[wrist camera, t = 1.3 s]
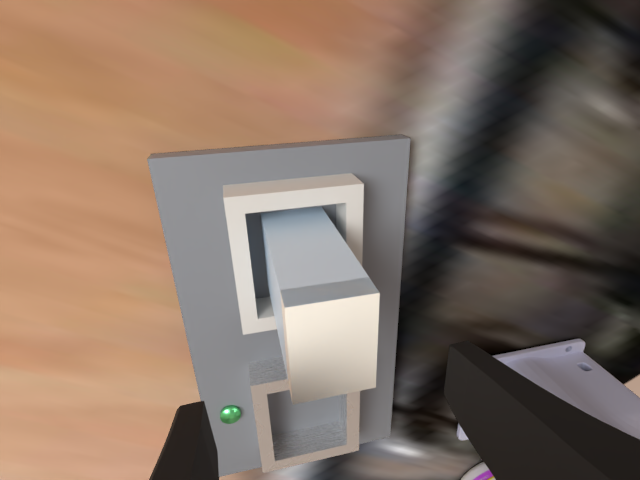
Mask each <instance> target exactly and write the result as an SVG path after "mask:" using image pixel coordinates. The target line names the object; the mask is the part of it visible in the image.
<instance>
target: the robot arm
mask: <svg viewBox="0 0 640 480" xmlns="http://www.w3.org/2000/svg"><path fill="white" fill-rule="evenodd" d="M584 348H585V342H584V341H583V340H582V339H573V340H568V341H564V342H559V343H554V344H549V345H544V346H539V347H534V348H529V349H524V350H519V351H514V352H509V353H504V354H499V355H494V356H491V355H490V354H488V353H487V352H485V351H484V350H482V349H480V348H479V347H477V346H476V345H474V344H472V343H471V342H469V341H464V342H460V343H456V344H451V345H450V346H449V354H448V363H447V371H446V380H445V388H444V395H445V397H446V399H447V401H448V403H449V405H450V407H451V409H452V411H453V413H454V415H455V417H456V419H457V421H458V423H459V424H458V429H457V437H458V438H459V439H460V440H467V439H469V440H470V442H471V443H472V445H473V446H474V448H475V449H476V451H477V452H478V454H479V455H480V457H481V458H482V460H483V461H484V463H485V464H486V466H487V467H488V469H489V470H490V472H491V473H492V475H493V476H494V478H495V479H496V480H640V398H639V397H638V396H637V395H636V394H634V393H633V392H632V391H631V390H629V389H628V388H627V387H626V386H625V385H623V384H622V383H621V382H620V381H618V380H617V379H616V378H615V377H613V376H612V375H611V374H610V373H608V372H607V371H606V370H605V369H604V368H602V367H601V366H600V365H599V364H597V363H596V362H595V361H594V360H592V359H591V358H590V357H589V356H588V355H586V354H585V353H584V352H583V351H584ZM149 480H219V469H218V451H217V447H216V444H215V440H214V436H213V432H212V429H211V425H210V421H209V417H208V414H207V410H206V406H205V402H204V401H200V402H196V403H191V404H187V405H182V406H180V407H179V408H178V409H177V411H176V414H175V417H174V420H173V423H172V426H171V429H170V431H169V434H168V437H167V439H166V442H165V444H164V447H163V449H162V451H161V454H160V456H159V459H158V461H157V463H156V466H155V468H154V470H153V472H152V475H151V477H150V479H149Z"/></svg>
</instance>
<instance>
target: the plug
mask: <svg viewBox="0 0 640 480" xmlns="http://www.w3.org/2000/svg"><path fill="white" fill-rule="evenodd" d="M261 223H262V233H263V242H264V252H265V262H266V272H267V281H268V288H269V293H270V297H271V302H272V307H273V312H274V317H275V322H276V326H277V331H278V336H279V341H280V346H281V350H282V355H283V360H284V365H285V370H286V375H287V379H288V384H289V389H290V394H291V399H292V404H293V405H294V404H298V403H303V402H308V401H313V400H318V399H323V398H328V397H332V396H337V395H342V394H347V393H352V392H357V391H362V390H366V389H371V388H376V371H377V347H378V323H379V299H380V292H379V291H378V289H377V288H376V287H375V285H374V284H373V282H372V281H371V279H370V278H369V276H368V275H367V273H366V272H365V270H364V269H363V267H362V266H361V264H360V263H359V261H358V260H357V258H356V257H355V255H354V254H353V252H352V251H351V250H350V248H349V247H348V245H347V244H346V242H345V241H344V239H343V238H342V236H341V235H340V233H339V232H338V230H337V229H336V227H335V226H334V224H333V223H332V221H331V220H330V218H329V217H328V216H327V214H326V213H325V211H324V210H323V208H322V207H314V208H304V209H295V210H286V211H277V212H268V213H261Z"/></svg>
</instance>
